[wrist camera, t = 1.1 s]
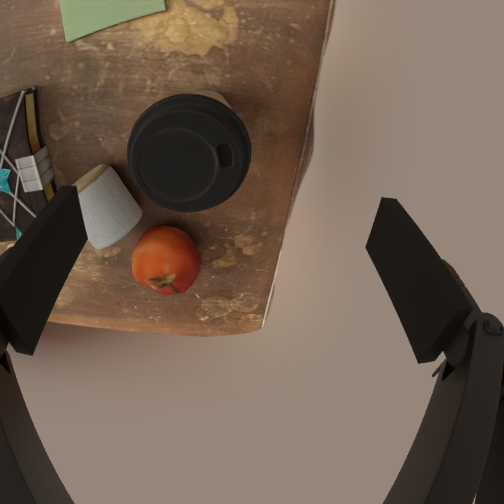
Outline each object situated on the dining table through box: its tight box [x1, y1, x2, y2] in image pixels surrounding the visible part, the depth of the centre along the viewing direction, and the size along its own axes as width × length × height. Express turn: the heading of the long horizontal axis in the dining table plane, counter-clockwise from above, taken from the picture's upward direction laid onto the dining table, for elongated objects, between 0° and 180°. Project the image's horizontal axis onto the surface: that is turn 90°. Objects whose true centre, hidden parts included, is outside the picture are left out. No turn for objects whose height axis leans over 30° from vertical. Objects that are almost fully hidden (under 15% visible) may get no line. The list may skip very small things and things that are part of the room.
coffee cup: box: [127, 90, 251, 212], centre depth 27 cm, size 9×9×15 cm
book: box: [0, 86, 56, 242], centre depth 32 cm, size 22×17×5 cm
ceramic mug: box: [71, 164, 142, 249], centre depth 35 cm, size 11×8×8 cm
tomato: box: [131, 225, 201, 295], centre depth 41 cm, size 9×9×8 cm
